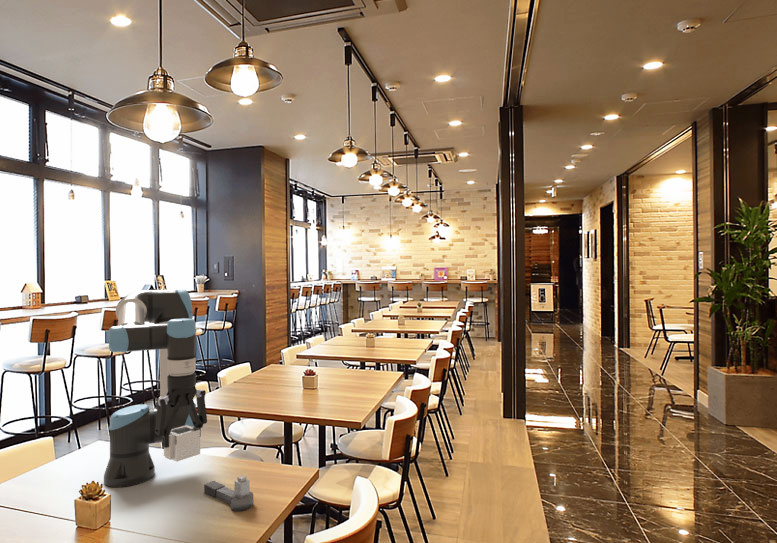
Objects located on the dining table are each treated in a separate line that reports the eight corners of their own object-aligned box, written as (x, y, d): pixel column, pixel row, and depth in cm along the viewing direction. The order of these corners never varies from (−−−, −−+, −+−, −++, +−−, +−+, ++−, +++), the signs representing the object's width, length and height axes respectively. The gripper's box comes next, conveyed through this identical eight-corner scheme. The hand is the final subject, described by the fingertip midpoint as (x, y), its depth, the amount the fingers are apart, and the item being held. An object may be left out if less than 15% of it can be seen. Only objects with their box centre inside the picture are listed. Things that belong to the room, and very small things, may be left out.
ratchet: (199, 494, 149) (199, 466, 149) (218, 487, 154) (217, 460, 154) (239, 513, 137) (239, 483, 137) (257, 505, 142) (257, 476, 142)
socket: (163, 455, 137) (163, 431, 137) (187, 448, 142) (186, 425, 142) (176, 461, 132) (176, 436, 132) (200, 453, 138) (200, 429, 138)
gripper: (153, 381, 127) (153, 468, 127) (220, 369, 143) (220, 446, 143) (139, 377, 132) (140, 461, 132) (206, 366, 148) (206, 441, 147)
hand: (182, 453), depth 137 cm, fingers closed on socket, 7 cm apart
